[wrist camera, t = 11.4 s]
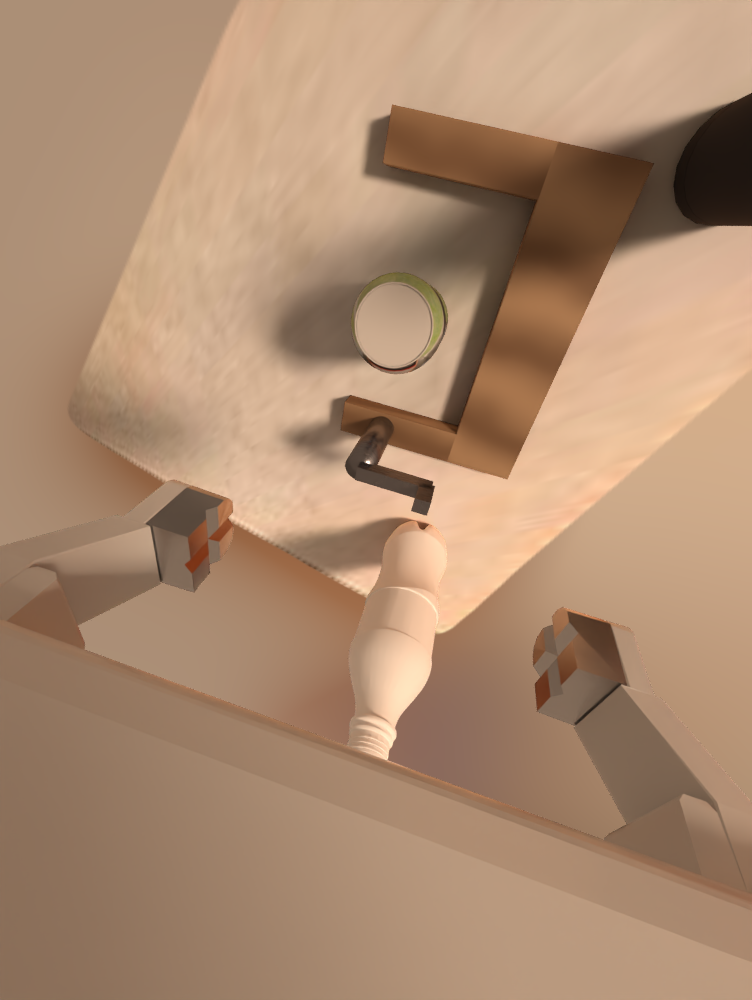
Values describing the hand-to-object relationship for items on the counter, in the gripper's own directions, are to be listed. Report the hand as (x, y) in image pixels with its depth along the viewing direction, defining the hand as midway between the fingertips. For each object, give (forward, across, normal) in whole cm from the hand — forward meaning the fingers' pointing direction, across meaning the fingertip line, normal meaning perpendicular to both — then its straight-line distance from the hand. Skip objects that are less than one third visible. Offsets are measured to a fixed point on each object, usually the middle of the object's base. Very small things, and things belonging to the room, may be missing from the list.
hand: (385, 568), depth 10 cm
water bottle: (+30, -3, +25) cm, 39 cm away
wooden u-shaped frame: (+31, 0, +1) cm, 31 cm away
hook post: (+31, +2, +11) cm, 33 cm away
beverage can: (+31, +4, +1) cm, 31 cm away
